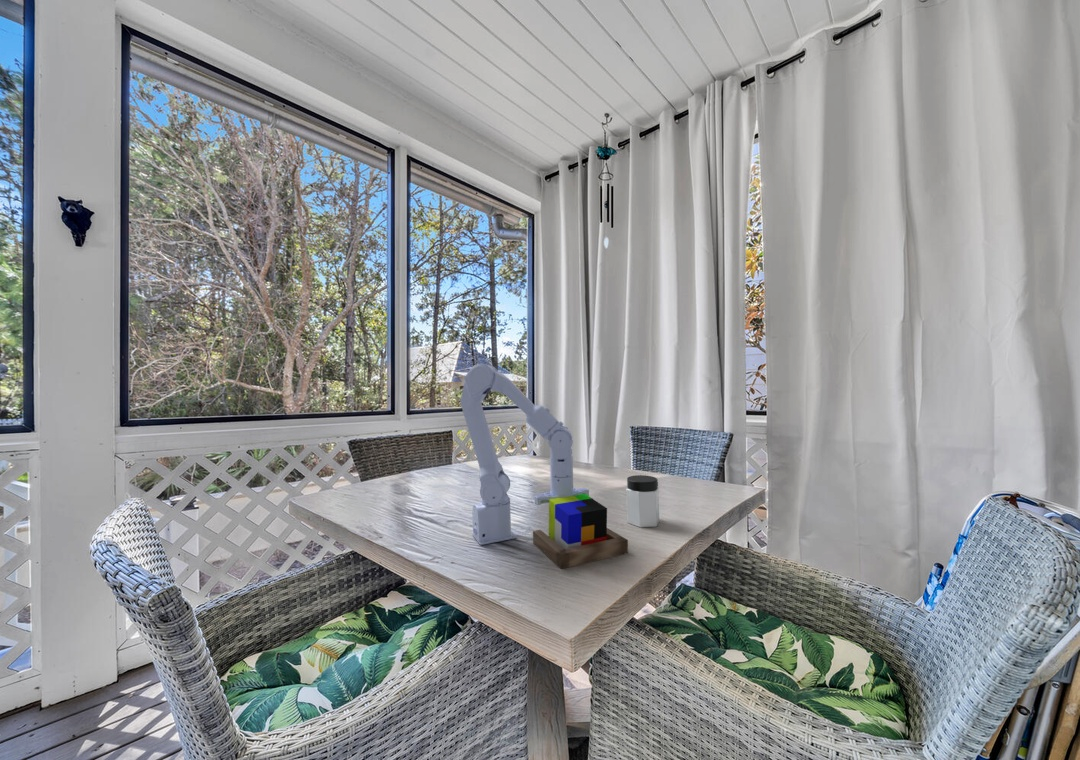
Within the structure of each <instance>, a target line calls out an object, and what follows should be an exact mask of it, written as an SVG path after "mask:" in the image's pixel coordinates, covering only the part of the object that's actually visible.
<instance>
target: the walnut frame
mask: <svg viewBox="0 0 1080 760" xmlns="http://www.w3.org/2000/svg"><path fill="white" fill-rule="evenodd" d="M532 543H533V545H534V546H535V547H537V549H539V550H540V551H541V552H542V553H543V554H544V555H545V556H546V557H547V558H548V559H549V560H551V561H552V563H554V564H555V565H556V566H557V567H558V568H559V569H560V570H562V569H566V568H570V567H575V566H579V565H583V564H587V563H591V562H596V561H601V560H604V559H608V558H613V557H618V556H621V554H622V555H626V554H629V541H628V539H627V538H625V537H624V536H622V535H621V534H618V533H617V532H615V531H613V530H611V529H610V528H608V527H607V536H606V540H605V541H601V542H596V543H591V544H587V545H582V546H577V547H573V548H568V549H564V548H563V547H561V546H560V545H559V544H558V543H556V542H555V541H554V540H553V539H551V538H550V537H549V534H548V535H547V533H545V532H544V531H543V530H541V529H537V530H536V529H535V530H533V531H532ZM625 553H626V554H625ZM617 555H618V556H617Z"/></svg>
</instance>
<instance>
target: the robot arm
mask: <svg viewBox="0 0 1080 760" xmlns="http://www.w3.org/2000/svg"><path fill="white" fill-rule="evenodd" d="M462 388H463V389H462V392H461V396H460V401H459V403H460V407H461V409H462V413H463V416H464V419H465V422H466V423H465V424H466V426H467V430H468V432H469V437H470V439H471V440H470V441H471V443H472V446H473V450H474V453H475V456H476V460H477V463H478V467H479V482H480V489H479V495H480V498H481V502H479V503H476V504H474V505H473V506H472V511H471V512H472V533H471V534H472V536H473V538H475V540H476V541H477V543H478V544H479V545H480V546H481V545H482V546H484V545H488V544H492V543H498V542H504V541H507V540H508V541H509V540H514V539H517V537H518V536H517V535H516V534H515V533H514V532H513V531H512V525H511V524H512V523H511V521H512V520H511V518H512V517H511V515H512V514H511V497H509V494H508V491H509V490H510V488H511V479H510V478H509V475H508V474H507V473H505V470H504V468H503V466H502V464H501V462H500V461H499V459H498V455H497V452H496V449H495V445H494V442H493V438H492V436H491V435H492V434H491V431H490V429H489V426H488V422H487V418H486V414H485V411H484V408H483V406H482V402H483V401H484V399H485V398H486V396H487V394H488V393H489V392H490V391H492V392H496V393H501V394H503V395H504V396H506V397H507V398H508V399H509V401H511V402H512V403H513V404H514V405H515V406H517V408H518V409H520V410H521V411H522V412H523V413H524V414H525V416H526V418H525V419H526V423H528V425H529V426H530V427H532V429H533V430H535V432H536V433H538V434H539V436H541V437H542V438H543V439H544V440H547V441H548V445H549V448H550V457H549V468H550V469H549V470H550V471H549V472H550V491H547V492H544V493H540V494H536V495H534V497H533V498H534V504H535V505H537V506H542V504H547V503H548V504H549V499H555V498H562V497H569V496H574V495H581V494H586V495H588V496H589V497H590V490H589V489H588V488H586V487H583V488H581V487H580V488H574V463H573V462H574V461H573V459H574V458H573V456H572V454H573V450H572V447H573V442H574V441H573V435H572V432H571V431H570V430H569V428H568V427H567V426H565V425H564V422H563V421H559V420H558V419H557V418H556V417H555V416H554V415H553V414H552V413H551V409H550V408H549V407H547V406H546V407H544V405H541V404H539V405H536V404H534V403H533V401H532V400H531V399H529V398H528V396H526V395H525V394H524V393H523V392H522V390H520V388H519V387H518V386H517V385H516V384H515V383H514V382H513V381H512V380H511V379H510V378H509V377H507V376H506V375H505V374H504V373H502V372H501V371H498V369H497V368H496V367H495V366H493V365H491V364H486V363H478V364H474V365H473V366H472V367H471V368H470V369H469V370H468V372H467V373H466V375H465V376H464V384H463V387H462Z"/></svg>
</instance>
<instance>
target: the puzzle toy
mask: <svg viewBox="0 0 1080 760" xmlns="http://www.w3.org/2000/svg"><path fill="white" fill-rule="evenodd" d="M607 526H608V507H606V506H604V505H603V504H601V503H599V502H598V501H597V500H595V499H594V498H593V497H591V496H590V495H589V496H588V495H586V494H581V495H574V496H569V497H562V498H555V499H549V503H548V536H549V537H550V538H551V539H553V540H554V541H555V542H556V543H558V544H559V545H560V546H561V547H563V548H564V549H568V548H573V547H577V546H582V545H587V544H591V543H596V542H601V541H605V540H606V536H607V528H608V527H607Z"/></svg>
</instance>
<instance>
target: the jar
mask: <svg viewBox="0 0 1080 760" xmlns="http://www.w3.org/2000/svg"><path fill="white" fill-rule="evenodd" d="M626 479H627V480H626V483H627V485H626V487H627V488H626V489H625V491H626V519H627V520H626V521H627V524H629V525H632V526H635V527H637V528H652V527H657V526H658V525H659V522H660V501H659V500H660V498H659V497H660V496H659V493H660V492H659V481H658V478H657V477H655V476H653V475H646V474H642V475H641V474H640V475H639V474H638V475H637V474H636V475H630V476H628V477H627V478H626Z"/></svg>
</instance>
